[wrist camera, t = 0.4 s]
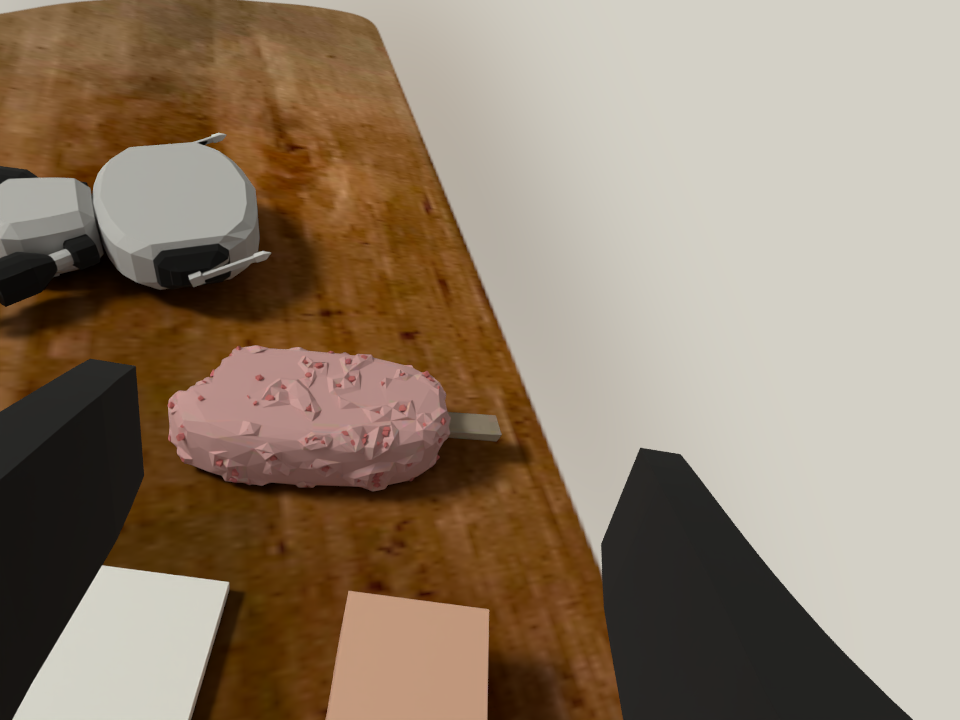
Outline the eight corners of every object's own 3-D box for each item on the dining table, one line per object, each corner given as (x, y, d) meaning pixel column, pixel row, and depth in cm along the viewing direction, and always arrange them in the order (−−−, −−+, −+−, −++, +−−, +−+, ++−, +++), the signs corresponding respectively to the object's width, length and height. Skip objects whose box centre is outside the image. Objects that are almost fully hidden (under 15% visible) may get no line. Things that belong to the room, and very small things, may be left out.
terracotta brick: (461, 801, 26) (486, 759, 23) (314, 787, 25) (323, 742, 22) (466, 659, 29) (488, 609, 27) (338, 643, 29) (348, 590, 26)
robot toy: (-35, 361, 36) (284, 309, 41) (-71, 288, 32) (280, 242, 38) (-31, 213, 43) (238, 186, 49) (-60, 142, 40) (232, 121, 45)
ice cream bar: (519, 456, 32) (152, 433, 29) (495, 511, 35) (159, 495, 32) (501, 352, 37) (181, 321, 33) (481, 408, 40) (184, 385, 36)
